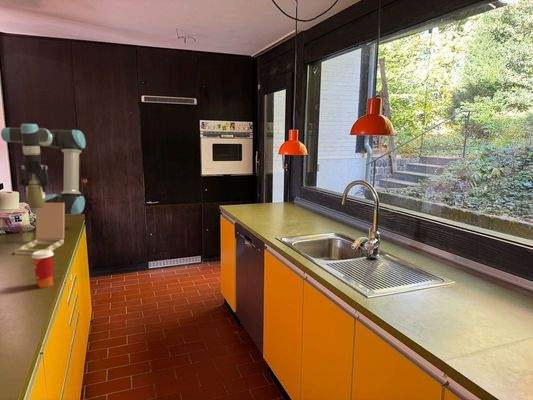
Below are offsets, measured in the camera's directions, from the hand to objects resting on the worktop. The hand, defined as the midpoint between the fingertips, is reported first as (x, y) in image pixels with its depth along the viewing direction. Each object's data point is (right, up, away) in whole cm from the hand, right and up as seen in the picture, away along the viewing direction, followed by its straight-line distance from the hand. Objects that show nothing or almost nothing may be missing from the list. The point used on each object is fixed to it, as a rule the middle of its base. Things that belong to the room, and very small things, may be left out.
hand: (36, 198), depth 196 cm
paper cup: (+31, -36, -44) cm, 64 cm away
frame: (0, -27, +4) cm, 28 cm away
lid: (-1, -13, +14) cm, 19 cm away
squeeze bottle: (0, -5, +1) cm, 5 cm away
